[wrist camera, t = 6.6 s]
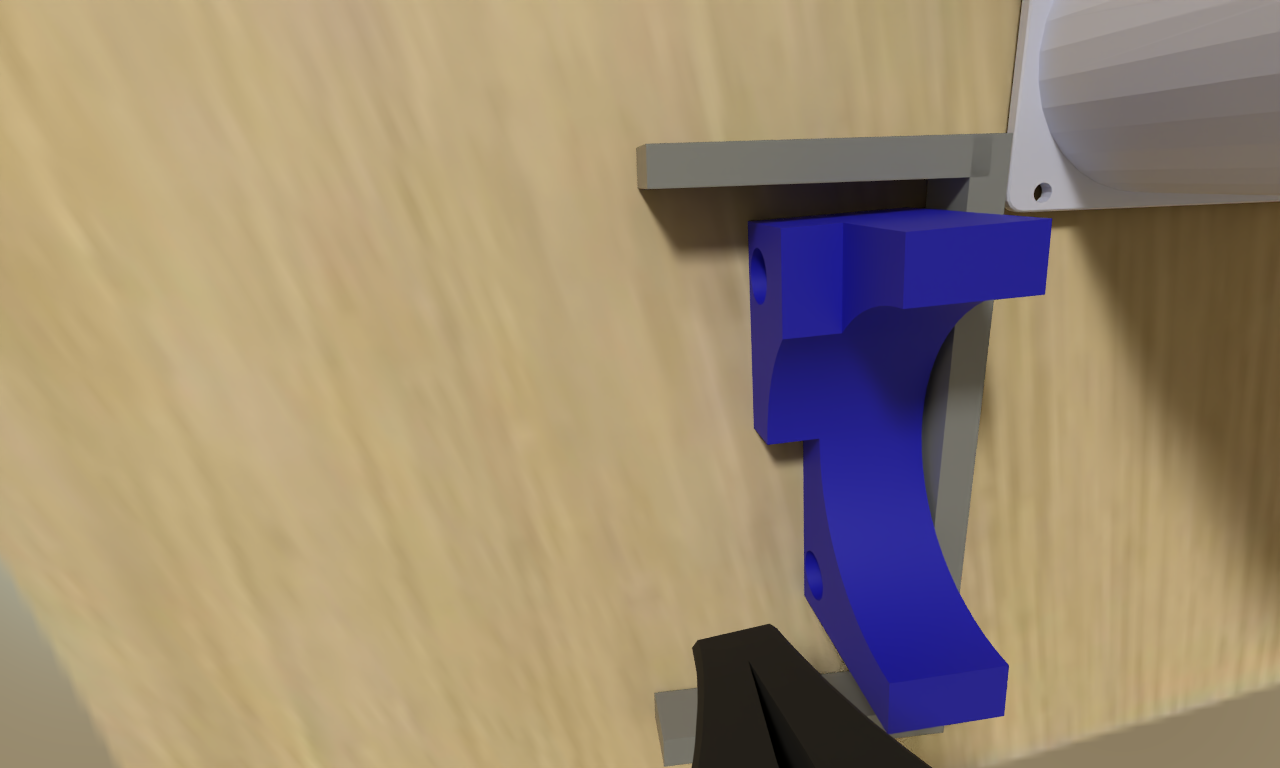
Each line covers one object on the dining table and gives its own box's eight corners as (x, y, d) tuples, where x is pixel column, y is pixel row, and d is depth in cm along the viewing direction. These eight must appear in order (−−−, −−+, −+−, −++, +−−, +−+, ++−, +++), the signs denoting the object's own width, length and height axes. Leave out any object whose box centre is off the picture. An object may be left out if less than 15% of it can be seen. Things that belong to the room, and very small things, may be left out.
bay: (966, 137, 19) (1013, 133, 17) (912, 688, 24) (943, 732, 22) (636, 148, 18) (646, 143, 16) (655, 717, 23) (664, 766, 21)
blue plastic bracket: (746, 221, 19) (829, 238, 13) (903, 206, 19) (1052, 218, 13) (758, 599, 22) (827, 744, 16) (890, 580, 23) (1004, 716, 17)
